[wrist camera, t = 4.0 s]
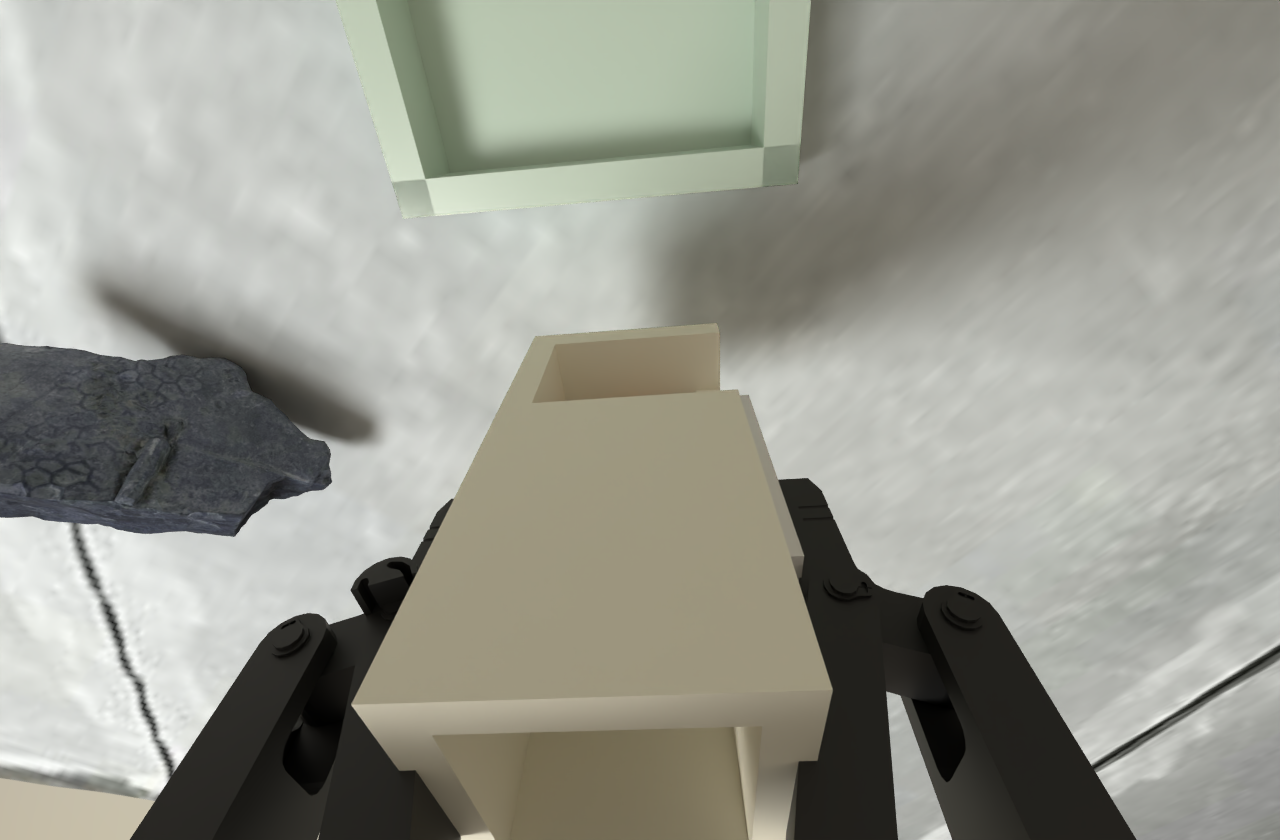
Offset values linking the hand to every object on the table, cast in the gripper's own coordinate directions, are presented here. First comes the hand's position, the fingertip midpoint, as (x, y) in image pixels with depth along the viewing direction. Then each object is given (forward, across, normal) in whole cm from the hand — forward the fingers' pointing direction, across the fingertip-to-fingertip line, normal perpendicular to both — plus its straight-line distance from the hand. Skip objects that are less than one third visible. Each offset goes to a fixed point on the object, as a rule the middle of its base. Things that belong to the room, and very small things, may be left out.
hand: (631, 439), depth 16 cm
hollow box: (+2, 0, 0) cm, 2 cm away
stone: (+9, -22, -2) cm, 24 cm away
